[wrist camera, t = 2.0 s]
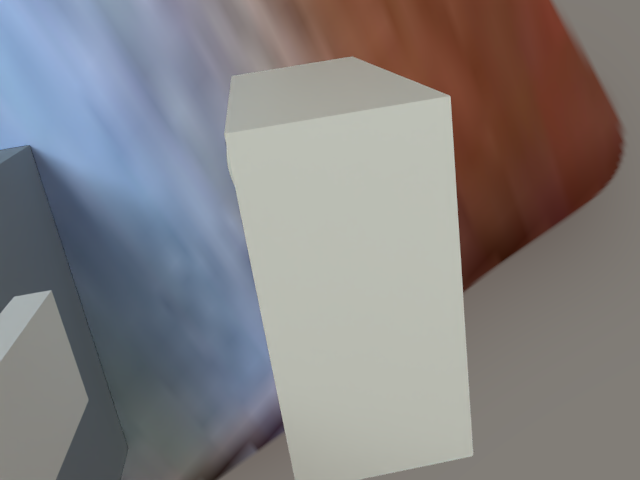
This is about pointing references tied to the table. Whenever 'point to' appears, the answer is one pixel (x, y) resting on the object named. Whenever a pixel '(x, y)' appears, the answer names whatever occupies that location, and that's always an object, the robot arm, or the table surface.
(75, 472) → the keyhole box
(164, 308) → the table surface
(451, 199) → the peg
